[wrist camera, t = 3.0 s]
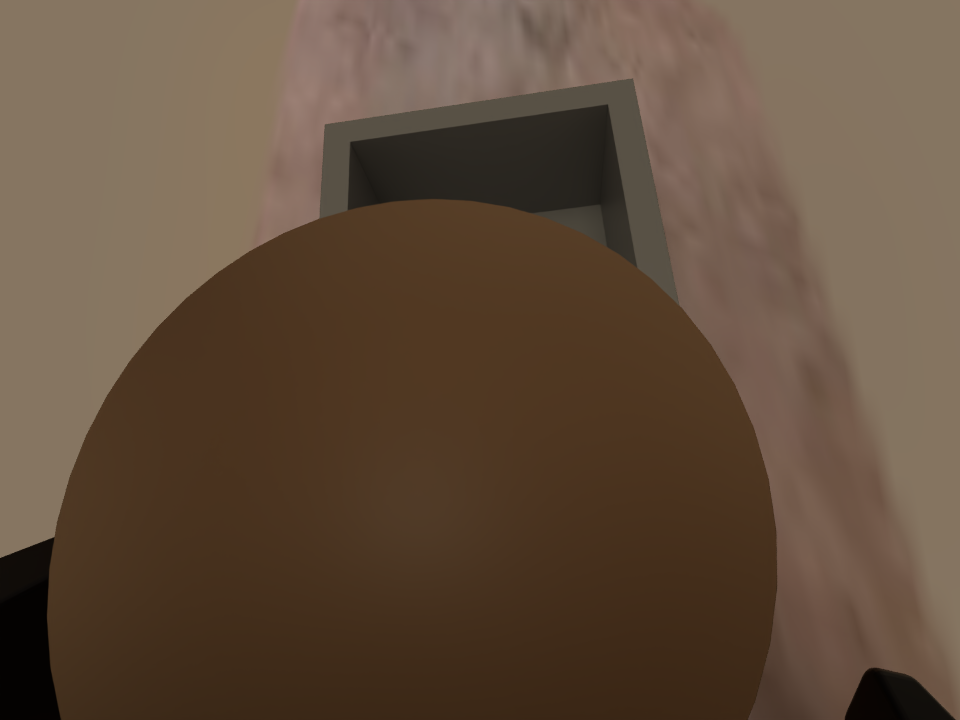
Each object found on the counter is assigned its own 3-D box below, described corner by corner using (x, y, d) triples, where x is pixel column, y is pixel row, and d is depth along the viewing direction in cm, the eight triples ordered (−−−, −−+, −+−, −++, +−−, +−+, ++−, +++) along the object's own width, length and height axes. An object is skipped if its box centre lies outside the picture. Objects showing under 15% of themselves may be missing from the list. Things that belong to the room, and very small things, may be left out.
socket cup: (659, 441, 16) (693, 377, 12) (377, 465, 17) (308, 414, 13) (618, 202, 19) (633, 78, 15) (380, 233, 20) (324, 124, 16)
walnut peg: (569, 712, 14) (569, 1250, 2) (413, 617, 16) (-95, 665, 4) (641, 541, 16) (879, 336, 4) (491, 466, 17) (299, 131, 5)
